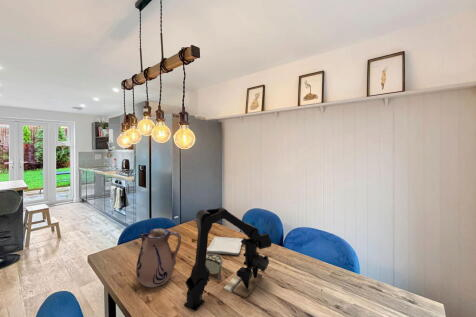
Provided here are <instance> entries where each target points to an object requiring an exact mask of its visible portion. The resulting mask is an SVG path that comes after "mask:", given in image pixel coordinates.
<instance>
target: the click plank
mask: <svg viewBox="0 0 476 317" xmlns="http://www.w3.org/2000/svg"><path fill="white" fill-rule="evenodd" d="M262 278H263V273H259V272H258V273H257V277H256V278H254V275H253V272H252V277H251V278H250V279H249V287H248V288H246V287H245V285H244V283H243V281H241V282H240V283H239V284H238V286H237V287H236V288H235V289H234V290H233V291H232V293H233V294H234V295H238V296H240V297H244V298H248V297H249V295H251V293H252V291H253V290H254V289H255V288H256V286H257V285H258V284H259V282H260V280H261V279H262Z"/></svg>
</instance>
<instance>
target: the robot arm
mask: <svg viewBox="0 0 476 317" xmlns="http://www.w3.org/2000/svg"><path fill="white" fill-rule="evenodd" d="M223 219H224V220H225V221H227V222H228V223H230V224H231V225H233V226H235V227H236V228H237V229H238V230H239V231H241V233H242V234H243V235H244V236H246V237H247V238H245V237H243V238H242V239H243V240H242V241H241V243H242V245H244V253H243V257H244V261H243V266H241V267H240V268H238V270H237V271H236V274H237V277H240V278H241V279H242V281H243V283H244V285H245V287H246V288H248V287H249V279H250V278H251V277H252V272H253V275H254V278H256V277H257V273H259V271H260V272H262V273H264V272H265V271H266V270H267V269H268V266H269V264H270V260H269V256H268V255H266V254H265V255H264V256H263V255H262V254H259V252H258V250H263V249H267V248H271V247H272V244H273V243H272V240H271V237H270V234H269V233H267V232H266V233H263V234H260V233H259V228H257V227H255V226H254V225H252V224H251V223H248V222H245V221H242V220H241V219H240V218H239V217H237V216H235V215H234V214H232V213H231V212H230V211H228V210H227V209H226V208H224V207H217V208H209V209H199V211H198V212H197V213H196V215H195V221H196V223H195V224H196V227H197V238H196V239H197V240H196V249H195V250H196V252H195V263H194V265H193V266H192V268H191V273H190V276H188V278H187V279H186V280H185V285H186V288H187V292H186V302H185V303H183V306H184V307H186V308H187V309H188V310H189V309H190V310H192V311H194V312H196V311H197V310H198V309H200V307H202V305H203V304H204V303H205V300H204V299H203V294H204V290H205V288H206V286H208V282H209V281H210V277H209V274H210V271H209V269H208V268H207V266H206V254H208V251H207V248H208V243H209V242H208V241H209V234H210V231H211V230H212V227H213V224H215V223H218V222H219V221H221V220H223ZM244 266H245V267H244Z"/></svg>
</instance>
